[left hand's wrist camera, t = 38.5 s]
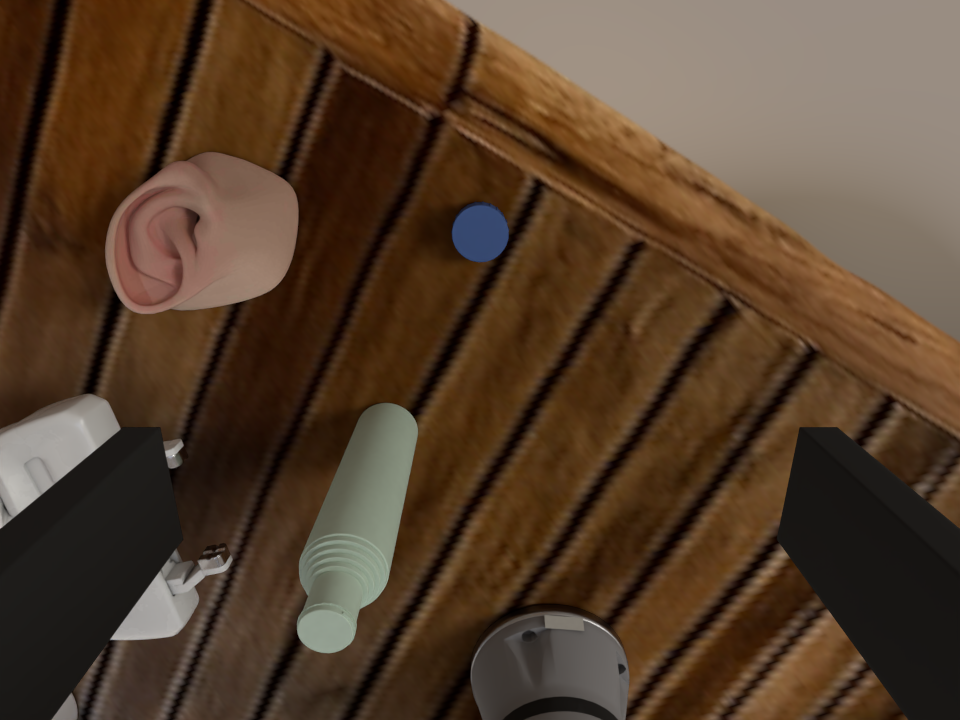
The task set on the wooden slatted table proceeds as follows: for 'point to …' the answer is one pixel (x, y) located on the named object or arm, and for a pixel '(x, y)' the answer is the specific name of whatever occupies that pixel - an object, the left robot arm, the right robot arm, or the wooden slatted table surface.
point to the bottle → (356, 528)
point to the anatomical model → (202, 235)
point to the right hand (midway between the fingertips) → (205, 506)
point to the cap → (480, 232)
